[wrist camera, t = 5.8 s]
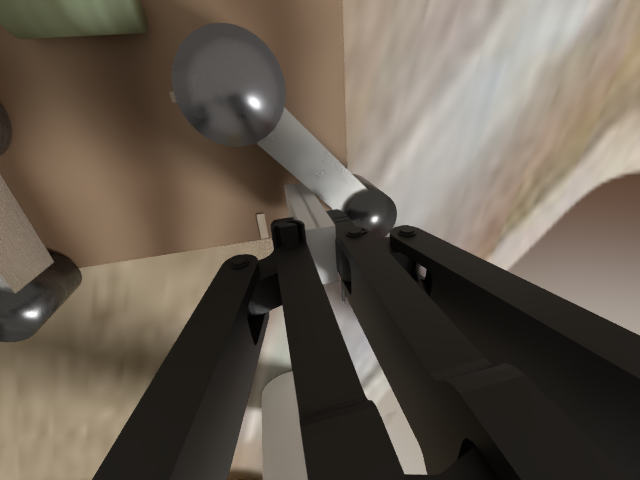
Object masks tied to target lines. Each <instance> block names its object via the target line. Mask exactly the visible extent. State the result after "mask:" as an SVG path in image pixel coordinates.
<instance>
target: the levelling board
mask: <svg viewBox="0 0 640 480" xmlns="http://www.w3.org/2000/svg"><path fill="white" fill-rule="evenodd" d="M212 23H229V24H233V25H237V26H240V27H242V28H245V29H247V30H249V31H250V32H252V33H254V34H255V35H256V36H258V37H259V38H260V39H261V40H262V41H263V42H264V43H265V44H266V45H267V46H268V47H269V48H270V50H271V51H272V52H273V54H274V56H275V57H276V59H277V61H278V63H279V65H280V67H281V70H282V73H283V77H284V81H285V88H286V99H285V106H284V107H285V108H286V109H287V110H288V111H289V112H290V113H291V114H292V115H293V116H294V117H295V118H296V119H297V120H298V121H299V122H300V123H301V124H302V125H303V126H304V127H305V128H306V129H307V130H308V131H309V132H310V133H311V134H312V135H313V136H314V137H315V138H316V139H317V140H318V141H319V142H320V143H321V144H322V145H323V146H324V147H325V148H326V149H327V150H328V151H329V152H330V153H331V154H332V155H333V156H334V157H335V158H336V159H337V160H338V161H339V162H340V163H341V164H342V165H343V166H344V167H345V168H346V169H347V148H346V112H345V76H344V39H343V3H342V0H0V102H1V103H2V105H3V107H4V108H5V110H6V112H7V114H8V116H9V119H10V122H11V126H12V141H11V144H10V146H9V148H8V149H7V151H6V152H5V153H4V154H3V155H1V156H0V174H1V176H2V178H3V179H4V181H5V183H6V184H7V186H8V187H9V189H10V191H11V192H12V194H13V196H14V197H15V199H16V201H17V202H18V204H19V205H20V207H21V209H22V210H23V212H24V214H25V215H26V217H27V218H28V220H29V222H30V223H31V225H32V227H33V228H34V230H35V231H36V233H37V235H38V236H39V238H40V240H41V241H42V243H43V245H44V246H45V248H46V249H47V251H48V253H52V254H57V255H60V256H63V257H65V258H67V259H69V260H70V261H72V262H73V263H74V264H75V265H76V266H77V267H78V268H82V267H88V266H95V265H101V264H108V263H114V262H120V261H127V260H133V259H140V258H146V257H153V256H159V255H166V254H172V253H178V252H185V251H191V250H198V249H204V248H211V247H217V246H223V245H230V244H236V243H243V242H249V241H256V240H262V239H269V238H272V234H271V225H270V224H271V223H272V222H273V220H277V219H283V218H289V216H288V209H287V202H286V195H285V188H284V185H288V184H295V183H302V182H301V181H299V180H298V179H297V178H296V177H295V176H294V175H293V174H291V173H290V172H289V171H288V170H287V169H286V168H284V167H283V166H282V165H281V164H280V163H279V162H277V161H276V160H275V159H274V158H273V157H272V156H271V155H269V154H268V153H267V152H266V151H265V150H264V149H262V148H261V147H260V146H259V145H258V144H257V143H254V144H252V145H248V146H242V147H232V146H226V145H222V144H219V143H216V142H214V141H212V140H210V139H208V138H206V137H205V136H203V135H202V134H200V133H199V132H198V131H197V130H196V129H195V128H194V127H193V126H192V125H191V124H190V123H189V122H188V121H187V119H186V118H185V116H184V115H183V113H182V111H181V110H180V108H179V106H178V103H177V101H176V98H175V95H174V91H173V85H172V66H173V61H174V57H175V55H176V52H177V50H178V48H179V46H180V44H181V43H182V42H183V40H184V39H185V38H186V37H187V36H188V35H189V34H190V33H191V32H193V31H194V30H196V29H198V28H200V27H202V26H204V25H208V24H212ZM314 195H315V196H316V198H317V199H318V200H319V202H320V203H321V205H322V206H323V208H324V209H325V211H329V210H332V209H331V208H330V206H328V205H327V204H326V203H325V202H324V201H323V200H322V199H320V198H319V197H318V196H317V195H316V194H315V193H314Z"/></svg>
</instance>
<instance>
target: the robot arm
mask: <svg viewBox="0 0 640 480" xmlns="http://www.w3.org/2000/svg"><path fill="white" fill-rule="evenodd" d="M284 188H285V195H286V202H287V209H288V216H289V218H283V219H277V220H273V222H272V223H271V224H270V225H271V234H272V240H273V245H274V251H273V252H272V253H271V254H270V255H269V256H268V257H266V258H264V259H261V260H259V261H258V259H257V258H256V257H255V256H253V255H248V254H243V255H236V256H233V257H231V258H230V259H228V260H226V261H225V262H224V263H223V264H222V266H221V268H220V269H219V271H218V272H217V274H216V276H215V277H214V279H213V281H212V282H211V284H210V286H209V287H208V289H207V291H206V292H205V294H204V296H203V297H202V299H201V301H200V302H199V304H198V306H197V307H196V309H195V310H194V312H193V314H192V315H191V317H190V319H189V320H188V322H187V324H186V325H185V327H184V329H183V330H182V332H181V334H180V335H179V337H178V339H177V340H176V342H175V344H174V345H173V347H172V348H171V350H170V352H169V353H168V355H167V357H166V358H165V360H164V362H163V363H162V365H161V367H160V368H159V370H158V372H157V373H156V375H155V377H154V378H153V380H152V382H151V383H150V385H149V386H148V388H147V390H146V391H145V393H144V395H143V396H142V398H141V400H140V401H139V403H138V405H137V406H136V408H135V410H134V411H133V413H132V415H131V416H130V418H129V419H128V421H127V423H126V424H125V426H124V428H123V429H122V431H121V433H120V434H119V436H118V438H117V439H116V441H115V443H114V444H113V446H112V448H111V449H110V451H109V453H108V454H107V456H106V457H105V459H104V461H103V462H102V464H101V466H100V467H99V469H98V471H97V472H96V474H95V476H94V477H93V479H92V480H227V479H228V475H229V471H230V467H231V464H232V460H233V456H234V452H235V448H236V444H237V440H238V436H239V432H240V429H241V425H242V421H243V417H244V413H245V409H246V405H247V401H248V398H249V394H250V390H251V386H252V382H253V378H254V374H255V370H256V366H257V363H258V359H259V355H260V351H261V347H262V343H263V339H264V335H265V331H266V328H267V324H268V320H269V311H270V310H272V309H274V308H277V307H279V306H281V305H283V312H284V318H285V325H286V332H287V338H288V345H289V352H290V358H291V365H292V372H293V378H294V385H295V392H296V398H297V405H298V412H299V422H300V430H301V437H302V444H303V451H304V458H305V464H306V471H307V478H308V480H640V335H638V334H636V333H633V332H631V331H629V330H627V329H625V328H623V327H621V326H619V325H617V324H615V323H613V322H611V321H609V320H607V319H605V318H603V317H600V316H598V315H596V314H594V313H592V312H590V311H588V310H586V309H584V308H582V307H580V306H578V305H576V304H574V303H572V302H570V301H568V300H565V299H563V298H561V297H559V296H557V295H555V294H553V293H551V292H549V291H547V290H545V289H543V288H540V287H539V286H537V285H535V284H532V283H530V282H528V281H526V280H524V279H522V278H520V277H518V276H516V275H514V274H512V273H510V272H508V271H506V270H504V269H502V268H499V267H497V266H495V265H493V264H491V263H489V262H487V261H485V260H483V259H481V258H479V257H477V256H475V255H473V254H471V253H469V252H467V251H464V250H462V249H460V248H458V247H456V246H454V245H452V244H450V243H448V242H446V241H444V240H442V239H440V238H438V237H436V236H434V235H431V234H429V233H427V232H425V231H423V230H421V229H419V228H416V227H413V226H409V225H405V226H404V225H402V226H398V227H395V228H393V229H391V231H390V237H375V236H374V235H373V234H372V233H371V232H370V231H369V230H368V229H366V228H362V227H356V225H355V224H354V223H353V222H352V221H351V220H350V218H349V217H348V216H347V215H346V213H345V212H343V211H341V210H339V209H335V210H329V211H325V209H324V208H323V206H322V205H321V203H320V202H319V200H318V199H317V198H316V196H315V195H314V193H313V192H312V191H311V190H310V189H309V188H308V187H306V186H305V185H304V184H303V183H295V184H288V185H284ZM420 266H423V267H424V268H426V269H427V270H426V277H425V278H424V277H422V276H421V275H420ZM338 272H339V274H340V276H341V285H342V300H343V301H345V297H347V299H348V301H349V303H350V305H351V307H352V309H353V311H354V313H355V315H356V317H357V319H358V321H359V323H360V325H361V327H362V329H363V331H364V333H365V335H366V337H367V339H368V341H369V343H370V345H371V348H372V350H373V352H374V354H375V356H376V358H377V360H378V362H379V364H380V366H381V368H382V370H383V372H384V374H385V376H386V378H387V380H388V382H389V384H390V386H391V388H392V390H393V392H394V394H395V396H396V398H397V400H398V402H399V404H400V406H401V408H402V410H403V413H404V415H405V416H406V419H407V421H408V423H409V425H410V427H411V429H412V431H413V433H414V435H415V437H416V439H417V441H418V443H419V445H420V448H421V450H422V453H423V457H424V462H425V466H426V471H427V474H428V475H407V474H404V472H403V470H402V467H401V465H400V462H399V460H398V457H397V455H396V452H395V450H394V447H393V445H392V443H391V440H390V438H389V435H388V433H387V430H386V428H385V425H384V423H383V420H382V418H381V416H380V414H379V412H378V409H377V407H376V405H375V404H374V403H373V401H372V400H368V399H367V398H366V396H365V394H364V391H363V389H362V386H361V384H360V381H359V378H358V376H357V373H356V370H355V368H354V365H353V363H352V360H351V357H350V355H349V352H348V350H347V347H346V344H345V342H344V339H343V336H342V334H341V331H340V329H339V326H338V323H337V321H336V318H335V315H334V313H333V310H332V308H331V305H330V302H329V300H328V297H327V294H326V292H325V289H324V287H323V284H327V283H332V282H337V281H338Z"/></svg>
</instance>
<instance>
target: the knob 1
mask: <svg viewBox="0 0 640 480" xmlns="http://www.w3.org/2000/svg"><path fill="white" fill-rule="evenodd" d="M11 141H12V126H11V122H10V119H9V116H8V114H7V112H6V110H5V108H4V107H3V105H2V103H1V102H0V156H1V155H3V154H4V153H5V152H6V151H7V149H8V148H9V146H10V144H11ZM81 281H82V275H81V272H80V270H79V268H78V267H77V266H76V265H75V264H74V263H73V262H72V261H70V260H69V259H67V258H65V257H63V256H60V255H57V254H52V253H48V251H47V249H46V248H45V246H44V245H43V243H42V241H41V240H40V238H39V236H38V235H37V233H36V231H35V230H34V228H33V227H32V225H31V223H30V222H29V220H28V218H27V217H26V215H25V214H24V212H23V210H22V209H21V207H20V205H19V204H18V202H17V201H16V199H15V197H14V196H13V194H12V192H11V191H10V189H9V187H8V186H7V184H6V183H5V181H4V179H3V178H2V176H1V174H0V342H16V341H21V340H25V339H27V338H29V337H31V336H32V335H34V334H35V333H36V332H37V331H38V329H39V328H40V327H41V326H42V325H43V324H44V323H45V322H46V321H47V320H48V319H49V318H50V317H51V316H52V315H53V313H54V312H55V311H56V310H57V309H58V308H59V307H60V306H61V305H62V304H63V303H64V302H65V301H66V300H67V299H68V297H69V296H70V295H71V294H72V293H73V292H74V291H75V290H76V289H77V288H78V287H79V285H80V284H81Z"/></svg>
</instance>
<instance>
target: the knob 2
mask: <svg viewBox="0 0 640 480" xmlns="http://www.w3.org/2000/svg"><path fill="white" fill-rule="evenodd" d="M172 85H173V91H174V95H175V98H176V101H177V103H178V106H179V108H180V110H181V111H182V113H183V115H184V116H185V118H186V119H187V121H188V122H189V123H190V124H191V125H192V126H193V127H194V128H195V129H196V130H197V131H198V132H199V133H200V134H202V135H203V136H205V137H206V138H208V139H210V140H212V141H214V142H216V143H219V144H222V145H226V146H232V147H242V146H248V145H252V144H254V143H257V144H258V145H259V146H260V147H261V148H262V149H264V150H265V151H266V152H267V153H268V154H269V155H271V156H272V157H273V158H274V159H275V160H276V161H277V162H279V163H280V164H281V165H282V166H283V167H284V168H286V169H287V170H288V171H289V172H290V173H291V174H293V175H294V176H295V177H296V178H297V179H298V180H299V181H301V182H302V183H303V184H304V185H305V186H306V187H308V188H309V189H310V190H311V191H312V192H313V193H315V194H316V195H317V196H318V197H319V198H320V199H322V200H323V201H324V202H325V203H326V204H327V205H328V206H330V208H331V209H332V210H335V209H339V210H341V211H343V212H345V213H346V215H347V216H348V217H349V218H350V220H351V221H352V222H353V223H354V224H355V225H356V227H362V228H366V229H368V230H369V231H370V232H371V233H372V234H373V235H374V236H375V237H385V236H386V235H387V234H388V233H389V232H390V231H391V229H392V228H393V226H394V224H395V221H396V217H397V210H396V206H395V204H394V202H393V201H392V199H391V198H390V197H388V196H387V195H386V194H384V193H383V192H382V191H380V190H379V189H378V188H376V187H375V186H374V185H372V184H371V183H370V182H368V181H367V180H366V179H364V178H363V177H361V176H359V175H356V174H351V173H350V172H349V171H348V170H347V169H346V168H345V167H344V166H343V165H342V164H341V163H340V162H339V161H338V160H337V159H336V158H335V157H334V156H333V155H332V154H331V153H330V152H329V151H328V150H327V149H326V148H325V147H324V146H323V145H322V144H321V143H320V142H319V141H318V140H317V139H316V138H315V137H314V136H313V135H312V134H311V133H310V132H309V131H308V130H307V129H306V128H305V127H304V126H303V125H302V124H301V123H300V122H299V121H298V120H297V119H296V118H295V117H294V116H293V115H292V114H291V113H290V112H289V111H288V110H287V109H286V108H285V107H284V106H285V99H286V88H285V81H284V77H283V73H282V70H281V67H280V65H279V63H278V61H277V59H276V57H275V56H274V54H273V52H272V51H271V50H270V48H269V47H268V46H267V45H266V44H265V43H264V42H263V41H262V40H261V39H260V38H259V37H258V36H256V35H255V34H254V33H252V32H250V31H249V30H247V29H245V28H242V27H240V26H237V25H233V24H229V23H212V24H208V25H204V26H202V27H200V28H198V29H196V30H194V31H193V32H191V33H190V34H189V35H188V36H187V37H186V38H185V39H184V40H183V42H182V43H181V44H180V46H179V48H178V50H177V52H176V55H175V57H174V61H173V66H172Z"/></svg>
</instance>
